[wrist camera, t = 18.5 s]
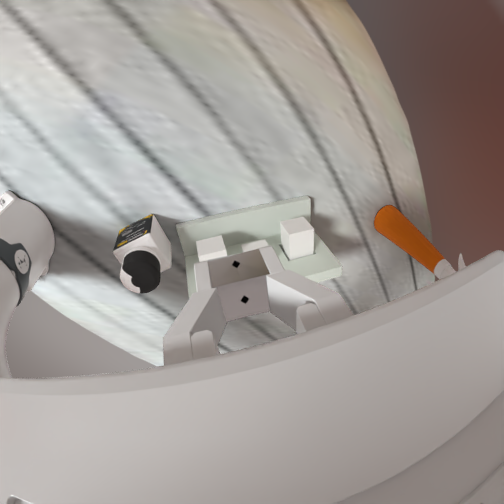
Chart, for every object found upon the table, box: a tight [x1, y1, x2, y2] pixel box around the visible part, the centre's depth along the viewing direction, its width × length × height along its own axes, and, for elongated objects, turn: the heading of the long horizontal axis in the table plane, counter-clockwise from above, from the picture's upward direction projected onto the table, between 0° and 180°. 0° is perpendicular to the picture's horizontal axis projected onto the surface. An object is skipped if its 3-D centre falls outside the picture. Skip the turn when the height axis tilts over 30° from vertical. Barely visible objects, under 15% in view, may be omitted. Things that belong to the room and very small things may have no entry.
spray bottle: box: [374, 205, 466, 279], centre depth 47 cm, size 7×11×26 cm, turn 101°
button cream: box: [241, 239, 269, 253], centre depth 47 cm, size 5×9×5 cm, turn 7°
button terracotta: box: [280, 217, 314, 261], centre depth 46 cm, size 5×9×5 cm, turn 6°
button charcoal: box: [196, 235, 227, 262], centre depth 44 cm, size 5×9×5 cm, turn 6°
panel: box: [176, 196, 343, 298], centre depth 44 cm, size 24×8×14 cm, turn 97°
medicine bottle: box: [113, 214, 171, 293], centre depth 41 cm, size 7×7×12 cm
